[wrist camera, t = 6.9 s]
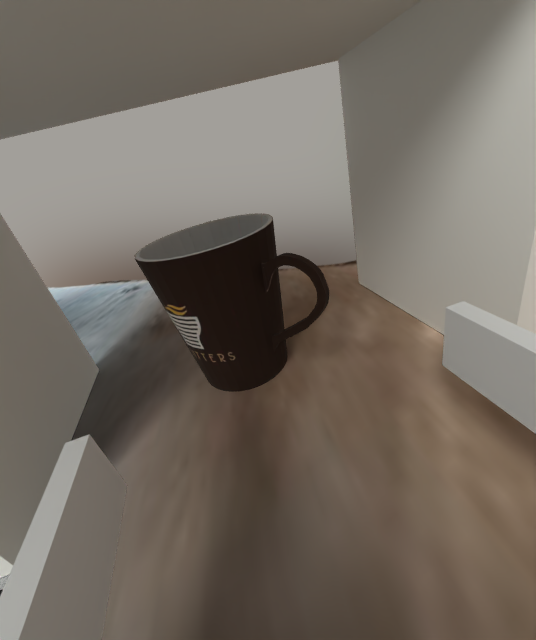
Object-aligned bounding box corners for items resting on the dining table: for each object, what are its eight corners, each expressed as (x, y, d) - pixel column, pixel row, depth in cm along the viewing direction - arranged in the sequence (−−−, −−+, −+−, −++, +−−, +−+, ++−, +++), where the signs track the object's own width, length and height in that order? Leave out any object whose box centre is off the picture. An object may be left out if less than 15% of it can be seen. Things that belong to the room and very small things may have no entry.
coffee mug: (182, 360, 26) (130, 246, 21) (270, 320, 28) (242, 210, 24) (225, 461, 16) (147, 293, 11) (354, 387, 19) (333, 224, 14)
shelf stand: (546, 366, 17) (723, -291, 7) (-35, 603, 13) (-1243, -105, 4) (373, 275, 32) (356, 20, 22) (78, 374, 28) (-96, 119, 18)
